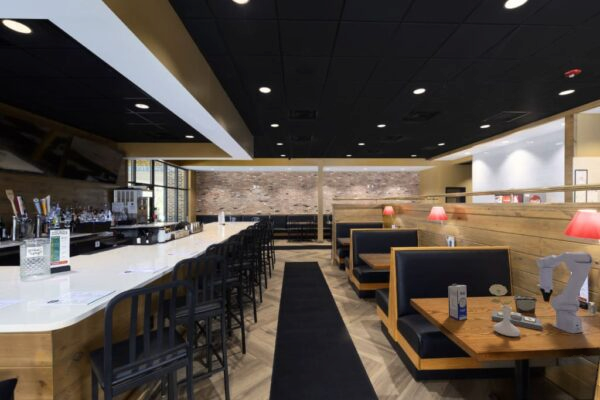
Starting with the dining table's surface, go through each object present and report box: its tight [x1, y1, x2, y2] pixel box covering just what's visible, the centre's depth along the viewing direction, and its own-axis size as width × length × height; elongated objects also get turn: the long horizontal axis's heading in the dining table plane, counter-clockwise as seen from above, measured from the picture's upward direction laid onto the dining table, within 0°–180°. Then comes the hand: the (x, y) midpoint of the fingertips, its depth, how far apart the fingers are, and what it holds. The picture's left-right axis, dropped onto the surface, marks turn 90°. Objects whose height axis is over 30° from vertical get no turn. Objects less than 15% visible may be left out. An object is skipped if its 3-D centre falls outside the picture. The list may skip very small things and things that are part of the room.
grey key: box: [510, 311, 522, 320], centre depth 157 cm, size 4×4×2 cm
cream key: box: [524, 316, 535, 323], centre depth 153 cm, size 4×4×2 cm
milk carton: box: [447, 283, 468, 322], centre depth 163 cm, size 7×7×20 cm
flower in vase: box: [488, 283, 521, 337], centre depth 143 cm, size 13×11×25 cm
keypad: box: [491, 309, 543, 331], centre depth 157 cm, size 22×11×2 cm, turn 51°
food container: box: [513, 294, 538, 315], centre depth 170 cm, size 12×6×10 cm, turn 84°
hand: (546, 301), depth 162 cm, fingers closed
